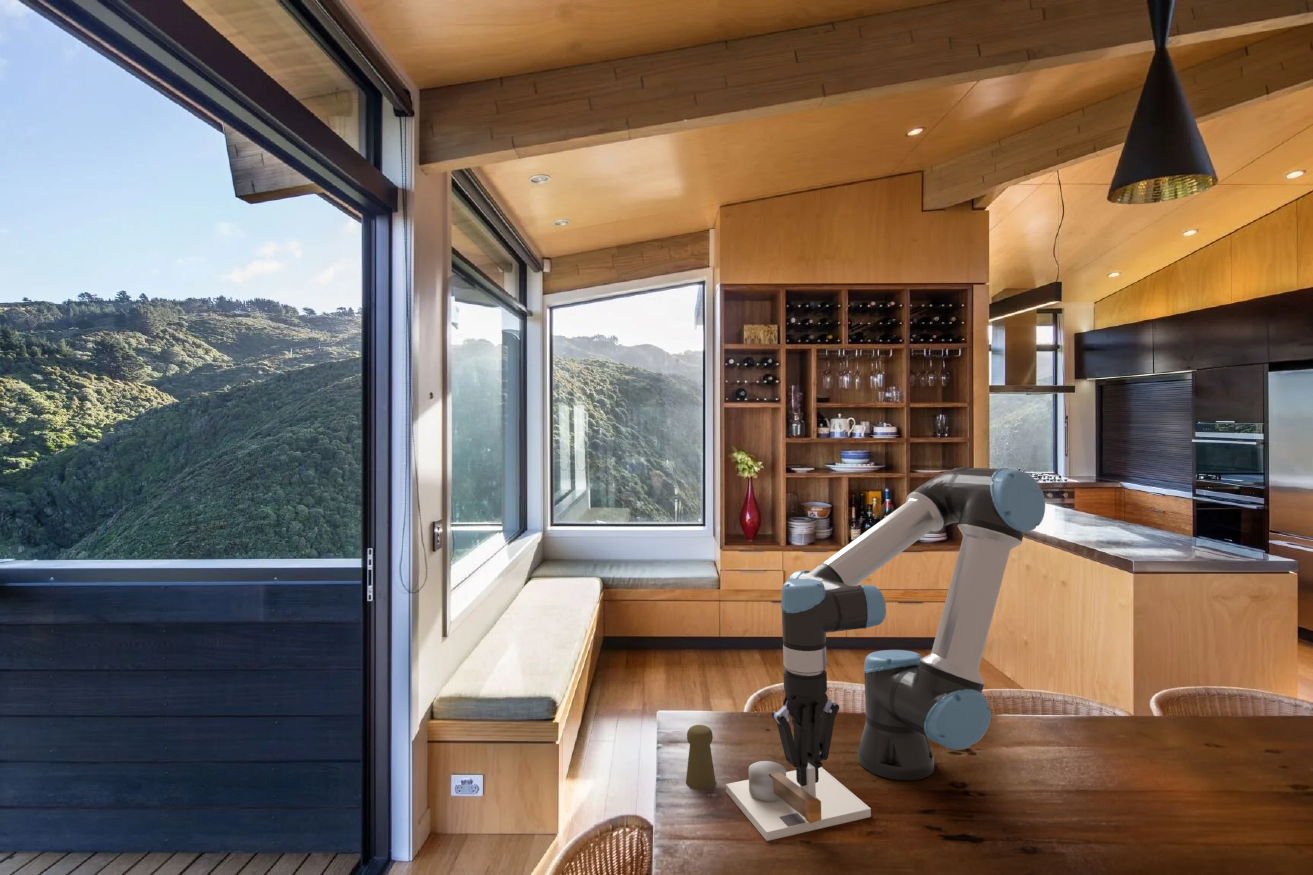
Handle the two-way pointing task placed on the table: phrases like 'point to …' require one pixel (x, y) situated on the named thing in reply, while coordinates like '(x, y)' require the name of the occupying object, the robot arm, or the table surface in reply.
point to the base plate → (785, 820)
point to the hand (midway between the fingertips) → (808, 801)
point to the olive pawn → (700, 758)
